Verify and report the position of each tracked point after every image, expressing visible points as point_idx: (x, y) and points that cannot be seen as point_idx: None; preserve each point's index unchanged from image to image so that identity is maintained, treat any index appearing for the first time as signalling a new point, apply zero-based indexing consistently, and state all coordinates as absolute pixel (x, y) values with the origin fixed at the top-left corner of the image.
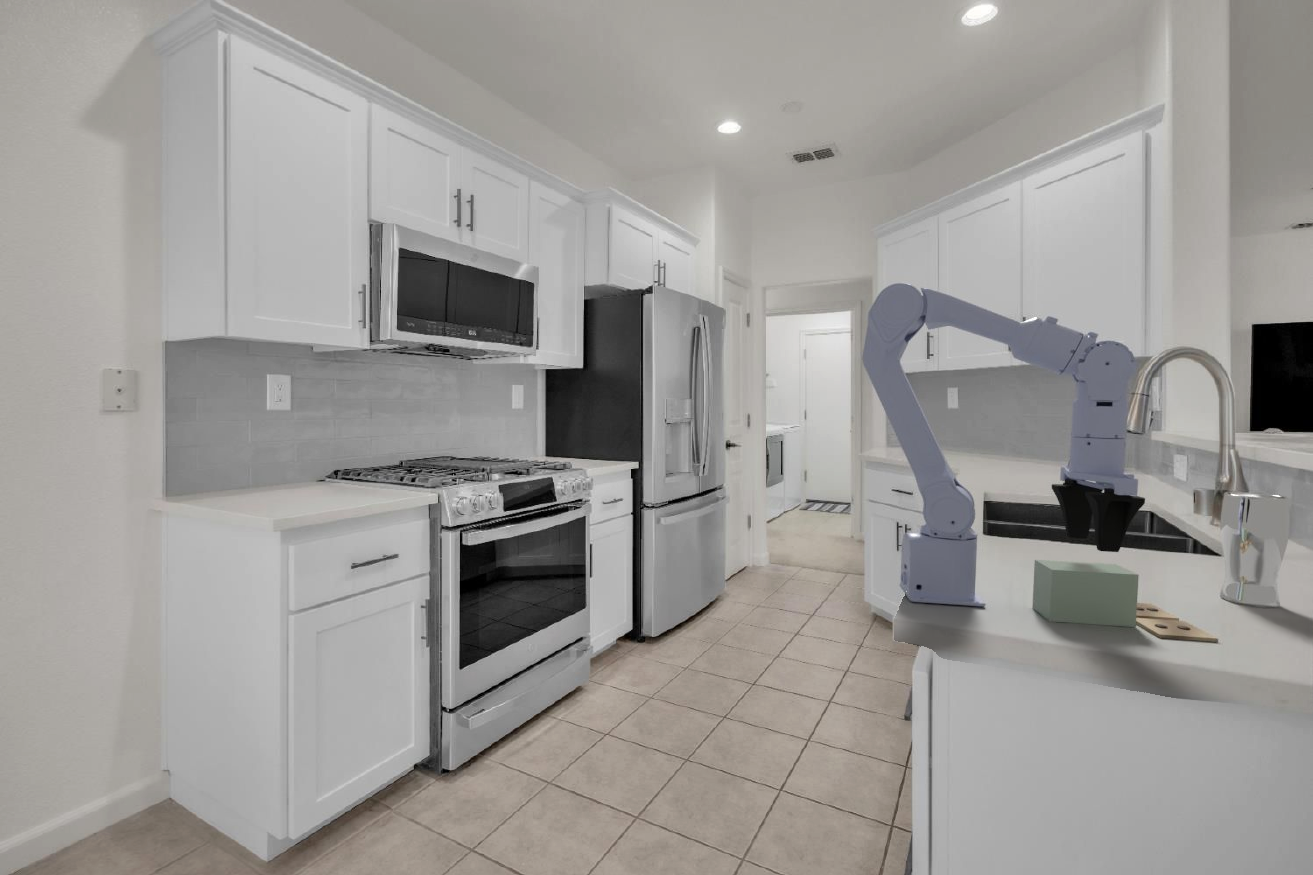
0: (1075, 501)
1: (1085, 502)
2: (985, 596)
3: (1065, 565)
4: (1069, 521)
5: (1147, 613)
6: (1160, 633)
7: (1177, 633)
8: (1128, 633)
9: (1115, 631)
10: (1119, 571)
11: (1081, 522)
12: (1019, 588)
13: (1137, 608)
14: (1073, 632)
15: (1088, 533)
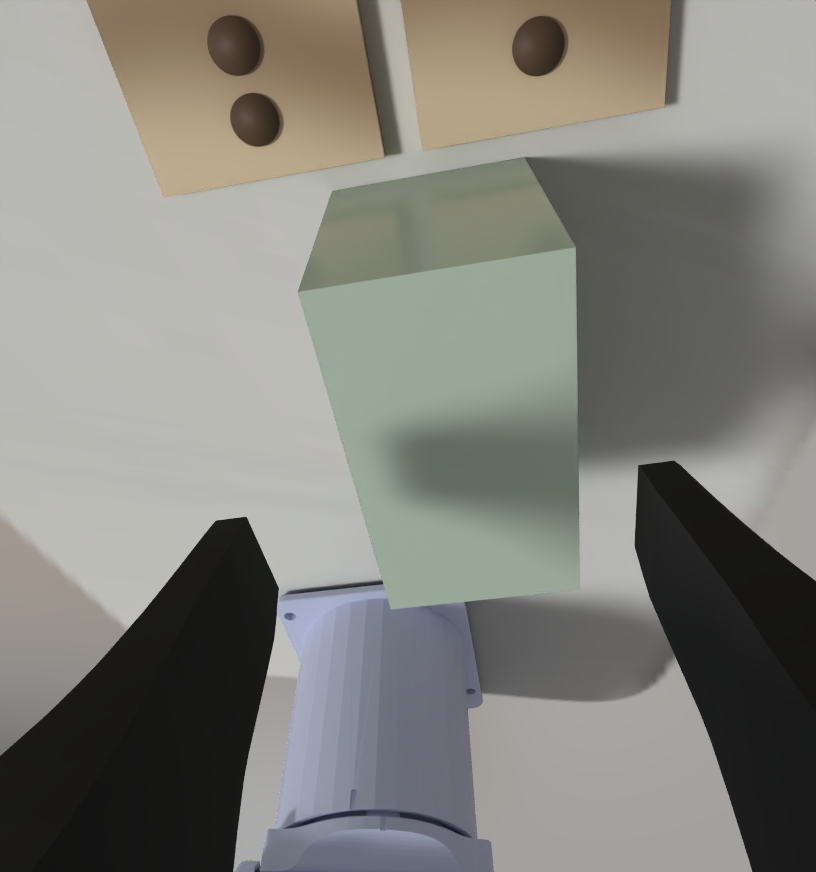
0: (196, 850)
1: (161, 804)
2: (314, 558)
3: (466, 532)
4: (253, 691)
5: (306, 25)
6: (648, 95)
7: (637, 2)
8: (620, 218)
9: (604, 261)
10: (519, 331)
11: (229, 639)
12: (122, 455)
13: (244, 56)
14: (648, 401)
15: (232, 536)
